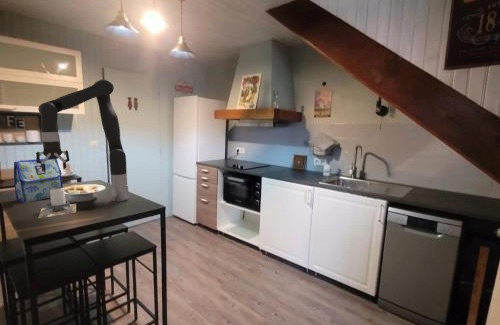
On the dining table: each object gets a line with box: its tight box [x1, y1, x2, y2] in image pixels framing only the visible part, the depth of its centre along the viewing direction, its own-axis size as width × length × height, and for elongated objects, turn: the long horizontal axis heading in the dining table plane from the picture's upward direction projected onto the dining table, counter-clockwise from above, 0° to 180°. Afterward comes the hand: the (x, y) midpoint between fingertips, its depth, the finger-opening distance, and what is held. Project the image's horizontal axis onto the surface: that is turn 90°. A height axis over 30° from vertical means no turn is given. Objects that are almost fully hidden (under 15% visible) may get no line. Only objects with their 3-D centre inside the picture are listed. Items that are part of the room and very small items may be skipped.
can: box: [49, 186, 66, 206], centre depth 143 cm, size 6×6×12 cm
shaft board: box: [37, 203, 77, 219], centre depth 141 cm, size 16×18×2 cm
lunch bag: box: [13, 158, 64, 204], centre depth 165 cm, size 22×17×26 cm
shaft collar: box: [42, 200, 72, 216], centre depth 141 cm, size 12×17×3 cm
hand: (54, 169), depth 140 cm, fingers open, 8 cm apart
